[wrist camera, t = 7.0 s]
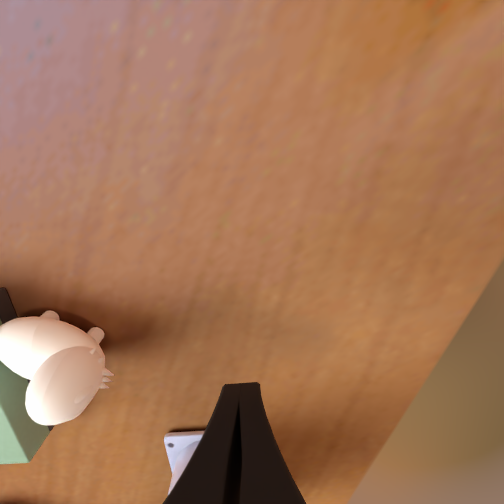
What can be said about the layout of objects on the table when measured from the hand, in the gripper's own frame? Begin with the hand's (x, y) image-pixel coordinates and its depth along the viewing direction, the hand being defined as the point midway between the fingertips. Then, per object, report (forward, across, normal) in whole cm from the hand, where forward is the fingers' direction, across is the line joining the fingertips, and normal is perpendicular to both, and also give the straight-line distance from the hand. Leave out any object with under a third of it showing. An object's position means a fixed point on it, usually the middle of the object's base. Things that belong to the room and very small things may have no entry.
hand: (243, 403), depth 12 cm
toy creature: (+10, +13, +3) cm, 16 cm away
